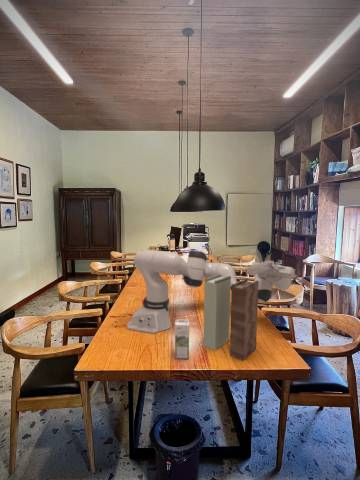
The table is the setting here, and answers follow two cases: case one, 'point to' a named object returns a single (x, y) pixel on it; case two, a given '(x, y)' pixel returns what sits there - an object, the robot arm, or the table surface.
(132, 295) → the table surface
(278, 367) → the table surface
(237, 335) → the walnut stand
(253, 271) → the steel bar
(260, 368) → the table surface
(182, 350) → the syrup box
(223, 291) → the sage stand
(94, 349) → the table surface
